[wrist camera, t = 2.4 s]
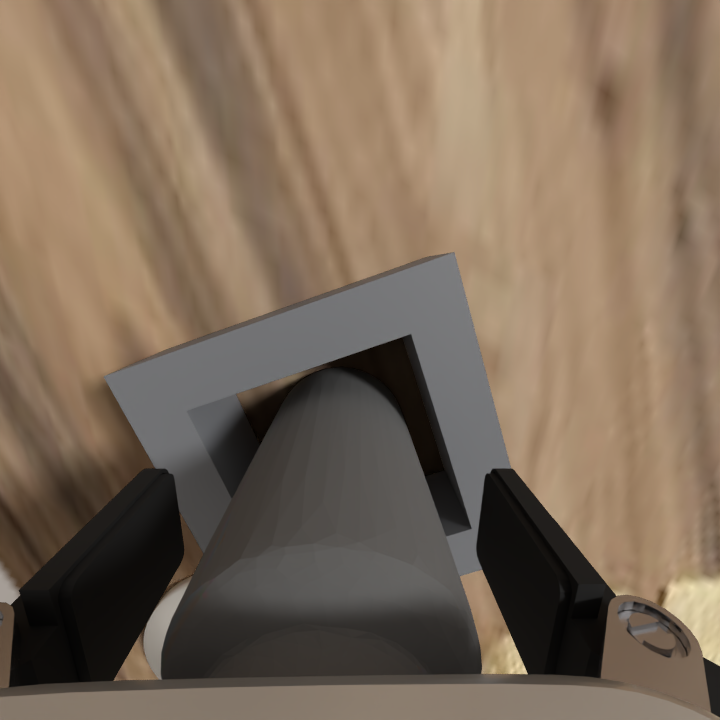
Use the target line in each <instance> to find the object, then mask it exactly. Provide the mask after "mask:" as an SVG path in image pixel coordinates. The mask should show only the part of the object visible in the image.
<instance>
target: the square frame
mask: <svg viewBox="0 0 720 720" xmlns="http://www.w3.org/2000/svg"><path fill="white" fill-rule="evenodd" d="M401 337H402V338H403V341H404V344H405V347H406V351H407V354H408V357H409V360H410V363H411V366H412V369H413V372H414V376H415V379H416V382H417V385H418V388H419V391H420V394H421V397H422V401H423V404H424V407H425V410H426V413H427V416H428V419H429V423H430V426H431V429H432V432H433V435H434V438H435V441H436V444H437V448H438V451H439V454H440V457H441V460H442V463H443V466H444V469H445V470H444V471H441V472H437V473H434V474H431V475H428V476H425V479H426V482H427V484H428V487H429V490H430V493H431V496H432V499H433V501H434V504H435V507H436V510H437V513H438V515H439V518H440V521H441V524H442V527H443V530H444V532H445V535H446V538H447V541H448V544H449V547H450V550H451V553H452V556H453V559H454V562H455V565H456V567H457V570H458V573H459V576H462V575H465V574H469V573H472V572H475V571H479V570H482V567H481V565H480V563H479V560H478V557H477V552H476V543H477V535H478V527H479V519H480V511H481V503H482V495H483V487H484V479H485V475H486V474H487V473H490V472H491V470H492V469H493V468H511V466H510V463H509V459H508V455H507V451H506V447H505V443H504V440H503V436H502V432H501V428H500V424H499V421H498V417H497V413H496V409H495V405H494V402H493V398H492V394H491V390H490V386H489V383H488V379H487V375H486V371H485V367H484V363H483V360H482V356H481V352H480V348H479V344H478V341H477V337H476V333H475V329H474V325H473V322H472V318H471V314H470V310H469V306H468V302H467V299H466V295H465V291H464V287H463V283H462V280H461V276H460V272H459V268H458V264H457V261H456V257H455V253H454V252H453V253H447V254H441V255H435V256H429V257H425V258H422V259H420V260H417V261H414V262H411V263H408V264H406V265H403V266H400V267H397V268H394V269H391V270H389V271H386V272H383V273H380V274H377V275H375V276H372V277H369V278H366V279H363V280H360V281H358V282H355V283H352V284H349V285H346V286H344V287H341V288H338V289H335V290H332V291H330V292H327V293H324V294H321V295H318V296H315V297H313V298H310V299H307V300H304V301H301V302H299V303H296V304H293V305H290V306H287V307H285V308H282V309H279V310H276V311H273V312H270V313H268V314H265V315H262V316H259V317H256V318H254V319H251V320H248V321H245V322H242V323H239V324H237V325H234V326H231V327H228V328H225V329H223V330H220V331H217V332H214V333H211V334H209V335H206V336H203V337H200V338H197V339H194V340H192V341H189V342H186V343H183V344H180V345H178V346H175V347H172V348H169V349H166V350H164V351H162V352H159V353H157V354H155V355H152V356H150V357H148V358H145V359H143V360H141V361H138V362H136V363H134V364H131V365H129V366H127V367H124V368H122V369H120V370H118V371H115V372H113V373H111V374H108V375H106V376H104V378H105V380H106V382H107V384H108V385H109V387H110V389H111V391H112V393H113V394H114V396H115V398H116V400H117V401H118V403H119V405H120V407H121V408H122V410H123V412H124V414H125V416H126V417H127V419H128V421H129V423H130V424H131V426H132V428H133V430H134V431H135V433H136V435H137V437H138V439H139V440H140V442H141V444H142V446H143V447H144V449H145V451H146V453H147V454H148V456H149V458H150V460H151V462H152V463H153V465H154V467H155V469H167V470H168V472H169V474H173V476H174V479H175V486H176V493H177V500H178V508H179V511H180V513H181V515H182V516H183V518H184V520H185V522H186V523H187V525H188V527H189V529H190V531H191V532H192V534H193V536H194V538H195V539H196V541H197V543H198V545H199V546H200V548H201V550H202V552H203V554H204V552H205V550H206V548H207V546H208V544H209V542H210V540H211V538H212V536H213V534H214V532H215V530H216V529H217V527H218V525H219V523H220V521H221V519H222V517H223V515H224V513H225V511H226V509H227V507H228V505H229V504H230V502H231V500H232V498H233V496H234V494H235V492H236V490H237V488H238V486H239V484H240V482H241V480H242V479H243V477H244V475H245V473H246V471H247V469H248V467H249V465H250V463H251V461H252V460H253V458H254V456H255V454H256V452H257V450H258V448H259V446H260V445H259V442H258V440H257V438H256V436H255V434H254V432H253V430H252V427H251V425H250V423H249V421H248V419H247V417H246V415H245V412H244V410H243V408H242V406H241V404H240V402H239V400H238V397H237V395H236V394H237V393H240V392H243V391H246V390H249V389H252V388H255V387H258V386H260V385H263V384H266V383H269V382H272V381H275V380H278V379H281V378H284V377H287V376H290V375H293V374H296V373H298V372H301V371H304V370H307V369H310V368H313V367H316V366H319V365H322V364H325V363H328V362H331V361H334V360H336V359H339V358H342V357H345V356H348V355H351V354H354V353H357V352H360V351H363V350H366V349H369V348H372V347H374V346H377V345H380V344H383V343H386V342H389V341H392V340H395V339H398V338H401Z"/></svg>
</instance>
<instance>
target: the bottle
mask: <svg viewBox="0 0 720 720" xmlns="http://www.w3.org/2000/svg"><path fill="white" fill-rule="evenodd" d="M481 671H482V663H481V650H480V644H479V639H478V635H477V631H476V627H475V624H474V620H473V616H472V612H471V609H470V606H469V603H468V600H467V597H466V594H465V591H464V588H463V585H462V582H461V579H460V576H459V573H458V570H457V567H456V565H455V562H454V559H453V556H452V553H451V550H450V547H449V544H448V541H447V538H446V535H445V532H444V530H443V527H442V524H441V521H440V518H439V515H438V513H437V510H436V507H435V504H434V501H433V499H432V496H431V493H430V490H429V487H428V484H427V482H426V479H425V476H424V473H423V470H422V468H421V465H420V462H419V459H418V456H417V453H416V451H415V448H414V445H413V442H412V439H411V437H410V434H409V431H408V428H407V425H406V422H405V420H404V417H403V414H402V412H401V409H400V407H399V405H398V402H397V400H396V399H395V397H394V395H393V394H392V393H391V391H390V390H389V389H388V388H387V387H386V386H385V385H384V384H383V383H382V382H381V381H380V380H378V379H377V378H375V377H373V376H372V375H370V374H368V373H366V372H363V371H361V370H357V369H352V368H344V367H338V368H328V369H324V370H321V371H318V372H315V373H313V374H311V375H309V376H307V377H306V378H304V379H303V380H301V381H300V382H299V383H297V384H296V386H295V387H294V388H293V389H292V390H291V391H290V392H289V394H288V395H287V397H286V398H285V400H284V401H283V403H282V405H281V407H280V409H279V410H278V412H277V414H276V416H275V418H274V420H273V422H272V424H271V426H270V427H269V429H268V431H267V433H266V435H265V437H264V439H263V441H262V443H261V444H260V446H259V448H258V450H257V452H256V454H255V456H254V458H253V460H252V461H251V463H250V465H249V467H248V469H247V471H246V473H245V475H244V477H243V479H242V480H241V482H240V484H239V486H238V488H237V490H236V492H235V494H234V496H233V498H232V500H231V502H230V504H229V505H228V507H227V509H226V511H225V513H224V515H223V517H222V519H221V521H220V523H219V525H218V527H217V529H216V530H215V532H214V534H213V536H212V538H211V540H210V542H209V544H208V546H207V548H206V550H205V552H204V554H203V556H202V558H201V560H200V562H199V564H198V566H197V568H196V570H195V572H194V574H193V576H192V578H191V580H190V582H189V584H188V586H187V588H186V590H185V592H184V595H183V597H182V599H181V601H180V603H179V605H178V607H177V609H176V611H175V613H174V615H173V617H172V619H171V622H170V624H169V627H168V630H167V633H166V636H165V640H164V644H163V647H162V651H161V679H162V680H165V679H205V678H249V677H301V676H359V675H440V674H481Z"/></svg>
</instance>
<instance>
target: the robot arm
mask: <svg viewBox="0 0 720 720" xmlns="http://www.w3.org/2000/svg"><path fill="white" fill-rule="evenodd" d="M476 552H477V557H478V560H479V563H480V565H481V567H482V570H483V572H484V574H485V577H486V579H487V581H488V583H489V586H490V588H491V590H492V593H493V595H494V597H495V599H496V602H497V604H498V606H499V609H500V611H501V613H502V615H503V618H504V620H505V622H506V625H507V627H508V629H509V631H510V634H511V636H512V638H513V641H514V643H515V645H516V648H517V650H518V652H519V654H520V657H521V659H522V661H523V664H524V666H525V668H526V670H527V673H528V674H440V675H359V676H301V677H249V678H205V679H165V680H124V681H113V680H114V678H115V677H116V675H117V673H118V671H119V670H120V668H121V666H122V664H123V663H124V661H125V659H126V657H127V656H128V654H129V652H130V650H131V649H132V647H133V645H134V643H135V642H136V640H137V638H138V637H139V635H140V633H141V631H142V630H143V628H144V626H145V624H146V623H147V621H148V619H149V617H150V616H151V614H152V612H153V610H154V609H155V607H156V605H157V603H158V602H159V600H160V598H161V597H162V595H163V593H164V591H165V590H166V588H167V586H168V584H169V583H170V581H171V579H172V577H173V576H174V574H175V572H176V570H177V569H178V567H179V565H180V563H181V561H182V559H183V555H184V544H183V536H182V529H181V522H180V515H179V508H178V500H177V493H176V486H175V479H174V476H173V474H169V472H168V470H167V469H144V470H142V471H141V472H140V473H139V474H138V475H137V476H136V477H135V478H134V479H133V480H132V481H131V482H130V483H129V484H128V485H127V486H126V487H125V488H123V489H122V490H121V491H120V492H119V493H118V494H117V495H116V496H115V497H114V498H113V499H112V500H111V501H110V502H109V503H108V504H107V505H106V506H105V507H104V508H103V509H102V510H101V511H100V512H99V513H98V514H97V515H96V516H95V517H94V518H93V519H92V520H91V521H90V522H89V523H88V524H86V525H85V526H84V527H83V528H82V529H81V530H80V531H79V532H78V533H77V534H76V535H75V536H74V537H73V538H72V539H71V540H70V541H69V542H68V543H67V544H66V545H65V546H64V547H63V548H62V549H61V550H60V551H59V552H58V553H57V554H56V555H55V556H54V557H53V558H52V559H51V560H49V561H48V562H47V563H46V564H45V565H44V566H43V567H42V568H41V569H40V570H39V571H38V572H37V573H36V574H35V575H34V576H33V577H32V578H31V579H30V580H29V581H28V582H27V583H26V584H25V585H24V586H23V587H22V588H21V589H20V590H19V592H20V596H19V597H18V598H17V599H16V600H15V601H14V602H13V603H12V604H11V605H9V604H7V603H1V602H0V720H720V666H718V665H716V664H715V663H713V662H711V661H709V660H707V659H705V658H704V657H703V655H702V651H701V648H700V645H699V643H698V641H697V639H696V638H695V636H694V635H693V634H692V632H691V631H690V630H689V629H688V628H687V627H686V626H685V625H684V624H683V623H682V622H681V621H680V620H679V619H678V618H677V617H675V616H674V615H673V614H671V613H670V612H669V611H667V610H666V609H664V608H662V607H660V606H659V605H657V604H655V603H653V602H651V601H648V600H646V599H643V598H640V597H637V596H631V595H620V596H616V595H615V594H614V592H613V591H612V590H611V589H610V588H609V586H608V585H607V584H606V583H605V581H604V580H603V579H602V578H601V576H600V575H599V574H598V573H597V571H596V570H595V569H594V568H593V567H592V565H591V564H590V563H589V562H588V560H587V559H586V558H585V557H584V555H583V554H582V553H581V552H580V550H579V549H578V548H577V547H576V546H575V544H574V543H573V542H572V541H571V539H570V538H569V537H568V536H567V534H566V533H565V532H564V531H563V529H562V528H561V527H560V526H559V524H558V523H557V522H556V521H555V520H554V519H553V518H552V517H551V515H550V514H549V513H548V512H547V510H546V509H545V508H544V507H543V505H542V504H541V503H540V502H539V500H538V499H537V498H536V497H535V495H534V494H533V493H532V492H531V491H530V489H529V488H528V487H527V486H526V484H525V483H524V482H523V481H522V479H521V478H520V477H519V476H518V474H517V473H516V472H515V471H514V470H513V469H511V468H493V469H492V470H491V472H490V473H487V474H486V475H485V479H484V487H483V495H482V503H481V511H480V519H479V527H478V535H477V543H476Z"/></svg>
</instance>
